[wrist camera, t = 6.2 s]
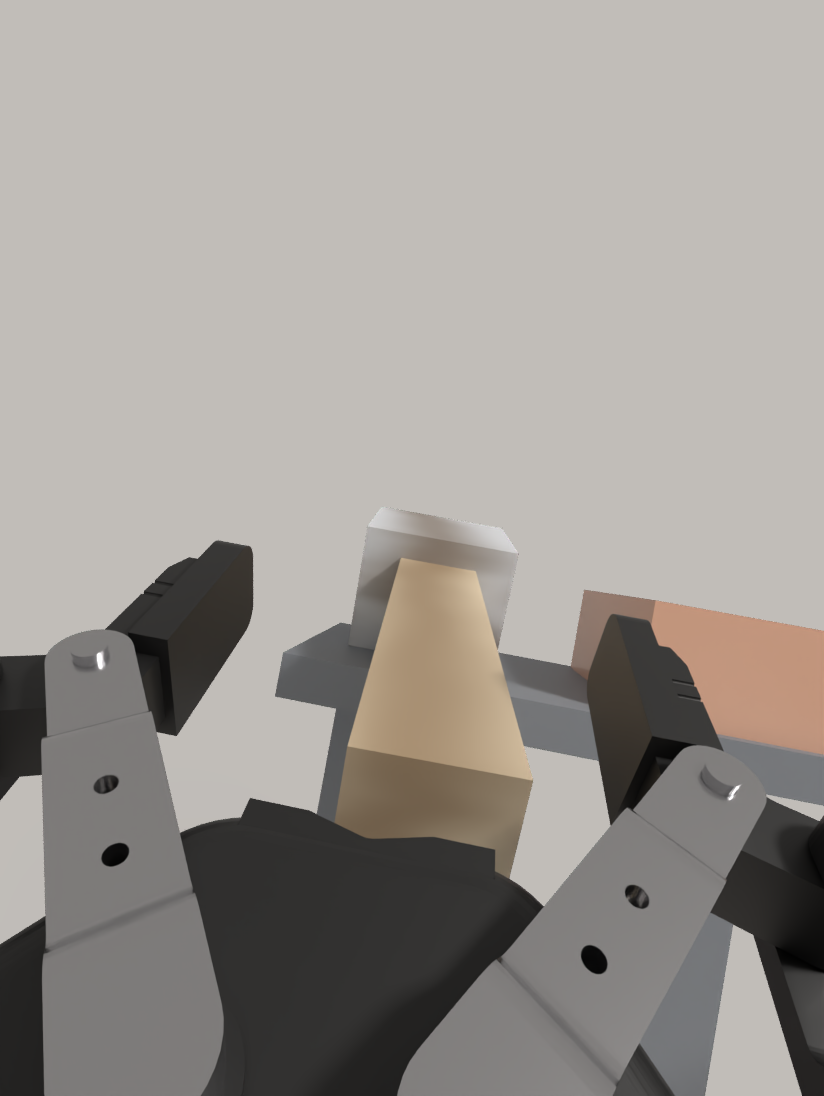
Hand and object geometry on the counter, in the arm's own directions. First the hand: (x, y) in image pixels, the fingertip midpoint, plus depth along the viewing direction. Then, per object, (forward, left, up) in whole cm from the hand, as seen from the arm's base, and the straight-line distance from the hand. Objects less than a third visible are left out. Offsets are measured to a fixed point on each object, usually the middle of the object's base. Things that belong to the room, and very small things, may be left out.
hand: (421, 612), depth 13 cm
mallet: (+2, -7, -4) cm, 8 cm away
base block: (-6, -15, -3) cm, 17 cm away
